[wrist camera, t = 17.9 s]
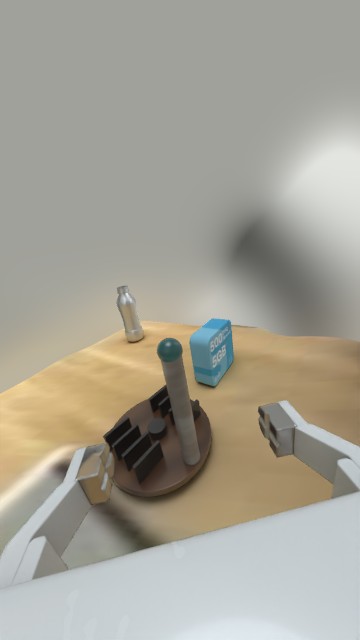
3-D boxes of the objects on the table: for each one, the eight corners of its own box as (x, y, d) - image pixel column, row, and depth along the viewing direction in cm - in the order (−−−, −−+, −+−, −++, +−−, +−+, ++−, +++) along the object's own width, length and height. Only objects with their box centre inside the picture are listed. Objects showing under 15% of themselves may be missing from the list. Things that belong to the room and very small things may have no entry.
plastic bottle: (147, 335, 77) (135, 283, 70) (139, 344, 71) (124, 288, 64) (133, 335, 79) (119, 285, 72) (124, 344, 73) (108, 290, 66)
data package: (213, 389, 43) (207, 340, 39) (195, 384, 46) (188, 337, 42) (234, 360, 52) (230, 317, 48) (218, 357, 55) (213, 316, 51)
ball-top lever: (87, 448, 33) (40, 345, 26) (161, 388, 44) (141, 304, 38) (155, 534, 22) (102, 391, 15) (231, 423, 33) (220, 313, 26)
